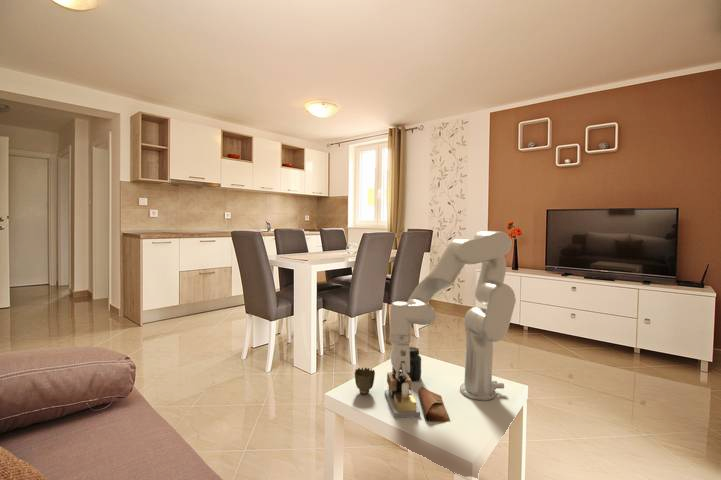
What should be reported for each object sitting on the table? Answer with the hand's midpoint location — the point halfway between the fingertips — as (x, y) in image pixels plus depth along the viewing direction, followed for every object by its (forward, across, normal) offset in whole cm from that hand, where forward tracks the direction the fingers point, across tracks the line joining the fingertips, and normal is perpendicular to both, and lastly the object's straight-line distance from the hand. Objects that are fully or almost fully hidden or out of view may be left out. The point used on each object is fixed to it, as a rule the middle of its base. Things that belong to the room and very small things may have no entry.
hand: (398, 386), depth 126 cm
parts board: (+4, -4, 0) cm, 6 cm away
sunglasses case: (+5, -7, -10) cm, 14 cm away
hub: (+3, -9, 0) cm, 9 cm away
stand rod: (+3, 0, 0) cm, 3 cm away
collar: (0, 0, 0) cm, 0 cm away
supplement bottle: (+5, +16, -10) cm, 19 cm away
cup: (+4, +5, +12) cm, 13 cm away
